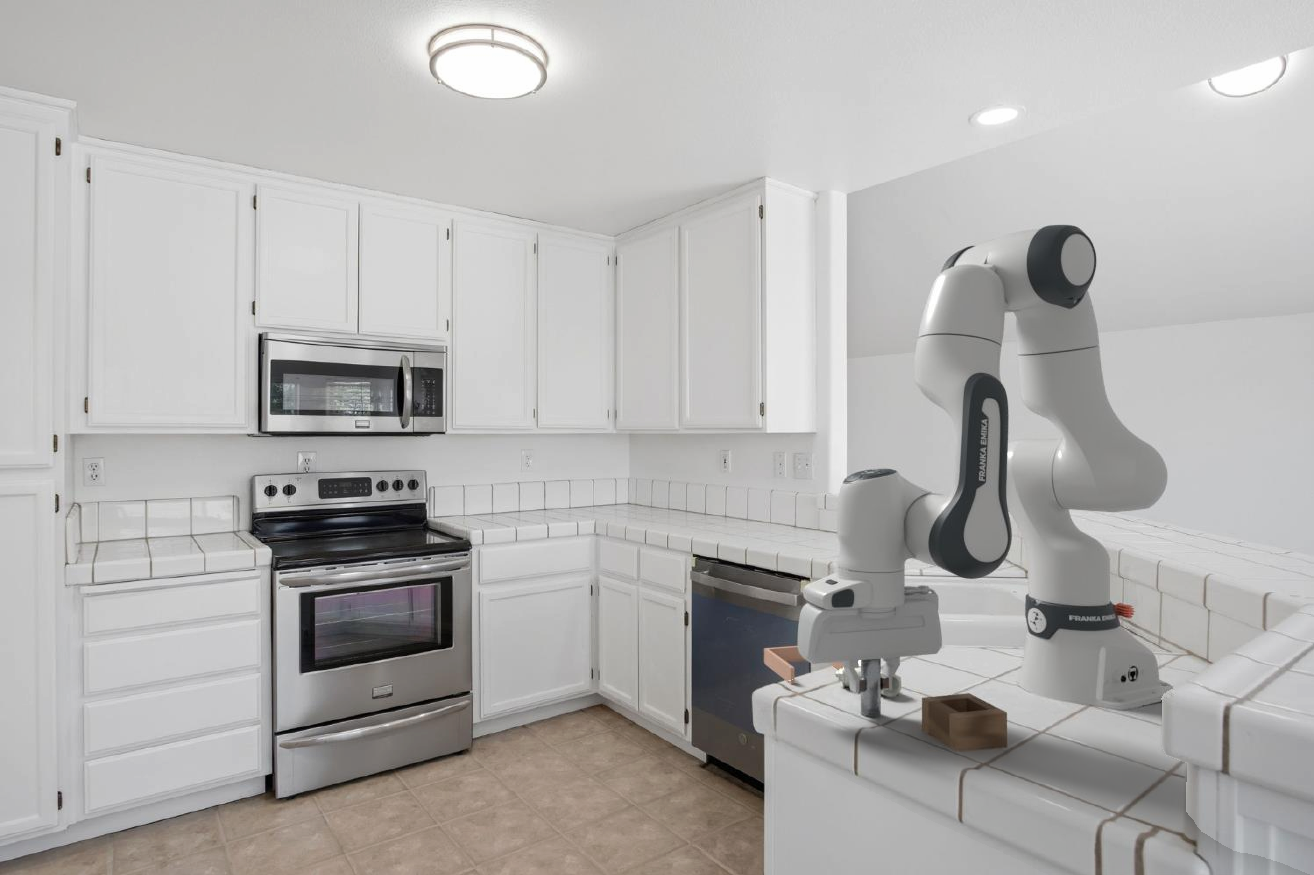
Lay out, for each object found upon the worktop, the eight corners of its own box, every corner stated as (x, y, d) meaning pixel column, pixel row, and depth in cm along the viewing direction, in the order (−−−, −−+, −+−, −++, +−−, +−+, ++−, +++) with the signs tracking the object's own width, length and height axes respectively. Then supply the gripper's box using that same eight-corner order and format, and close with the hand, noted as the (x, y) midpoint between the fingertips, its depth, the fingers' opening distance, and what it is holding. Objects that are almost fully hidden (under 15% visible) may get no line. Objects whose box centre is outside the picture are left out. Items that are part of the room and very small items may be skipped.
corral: (824, 658, 125) (824, 643, 125) (856, 678, 114) (856, 662, 114) (763, 663, 122) (763, 648, 122) (790, 684, 112) (790, 668, 112)
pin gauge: (874, 712, 100) (874, 647, 100) (884, 719, 98) (884, 652, 98) (857, 714, 99) (857, 648, 99) (867, 721, 97) (867, 653, 97)
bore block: (969, 727, 95) (969, 693, 95) (1007, 749, 88) (1007, 712, 88) (921, 732, 93) (921, 697, 93) (956, 755, 86) (956, 718, 86)
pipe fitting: (831, 660, 112) (868, 653, 114) (831, 684, 112) (868, 677, 114) (862, 678, 104) (901, 671, 106) (862, 705, 104) (901, 696, 107)
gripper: (924, 580, 104) (924, 676, 104) (792, 587, 99) (792, 688, 99) (951, 589, 98) (952, 691, 98) (813, 597, 93) (813, 704, 93)
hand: (870, 690), depth 98 cm, fingers closed on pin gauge, 3 cm apart
